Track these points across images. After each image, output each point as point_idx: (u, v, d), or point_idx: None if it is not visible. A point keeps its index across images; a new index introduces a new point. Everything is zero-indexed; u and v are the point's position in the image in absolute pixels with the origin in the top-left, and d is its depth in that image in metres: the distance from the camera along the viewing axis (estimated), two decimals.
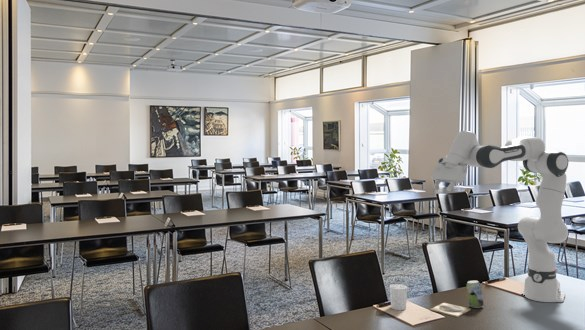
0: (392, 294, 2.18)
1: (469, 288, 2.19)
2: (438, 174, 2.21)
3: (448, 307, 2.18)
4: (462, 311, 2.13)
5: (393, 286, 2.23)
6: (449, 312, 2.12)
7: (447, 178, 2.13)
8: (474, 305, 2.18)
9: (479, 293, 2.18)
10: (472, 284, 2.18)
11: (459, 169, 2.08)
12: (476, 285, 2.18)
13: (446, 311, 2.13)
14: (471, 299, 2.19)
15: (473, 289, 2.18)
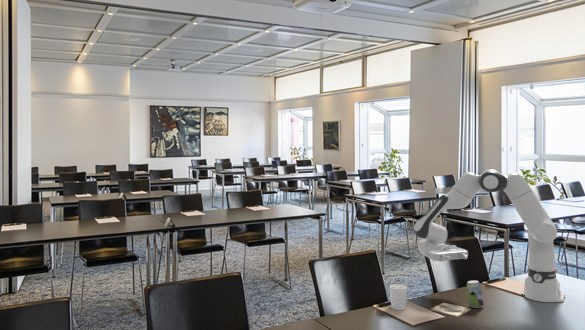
0: (392, 294, 2.18)
1: (469, 288, 2.19)
2: None
3: (448, 307, 2.18)
4: (462, 311, 2.13)
5: (393, 286, 2.23)
6: (449, 312, 2.12)
7: None
8: (474, 305, 2.18)
9: (479, 293, 2.18)
10: (472, 284, 2.18)
11: (430, 258, 2.38)
12: (476, 285, 2.18)
13: (446, 311, 2.13)
14: (471, 299, 2.19)
15: (473, 289, 2.18)
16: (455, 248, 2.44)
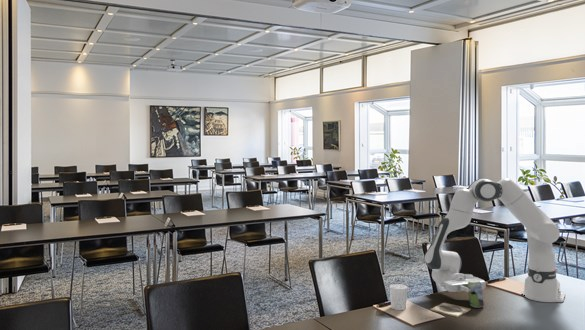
0: (392, 294, 2.18)
1: (470, 287, 2.19)
2: None
3: (448, 307, 2.18)
4: (462, 311, 2.13)
5: (393, 286, 2.23)
6: (449, 312, 2.12)
7: None
8: (474, 304, 2.18)
9: (480, 293, 2.18)
10: (473, 283, 2.19)
11: None
12: (477, 284, 2.18)
13: (446, 311, 2.13)
14: (471, 299, 2.19)
15: (474, 288, 2.18)
16: (472, 278, 2.32)
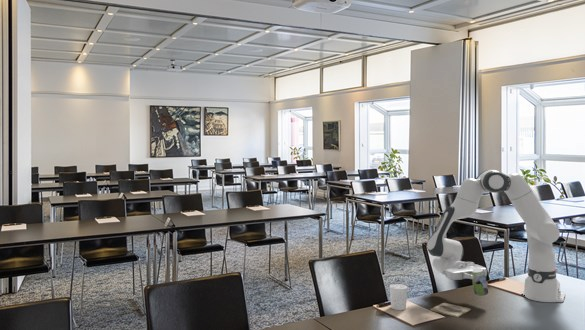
0: (392, 294, 2.18)
1: (475, 277, 2.19)
2: None
3: (448, 307, 2.18)
4: (462, 311, 2.13)
5: (393, 286, 2.23)
6: (449, 312, 2.12)
7: (464, 278, 2.23)
8: (480, 294, 2.19)
9: (484, 281, 2.19)
10: (478, 273, 2.19)
11: None
12: (481, 274, 2.18)
13: (446, 311, 2.13)
14: (476, 288, 2.20)
15: (479, 278, 2.18)
16: (473, 265, 2.32)
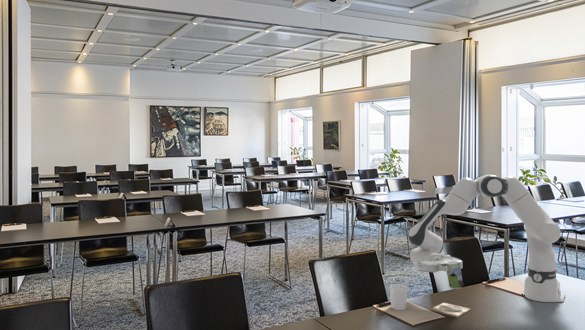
0: (392, 294, 2.18)
1: (449, 270, 2.15)
2: None
3: (448, 307, 2.18)
4: (462, 311, 2.13)
5: (393, 286, 2.23)
6: (449, 312, 2.12)
7: (438, 270, 2.19)
8: (454, 286, 2.15)
9: (459, 274, 2.15)
10: (452, 265, 2.14)
11: None
12: (456, 266, 2.14)
13: (446, 311, 2.13)
14: (451, 281, 2.15)
15: (453, 270, 2.14)
16: (449, 258, 2.27)
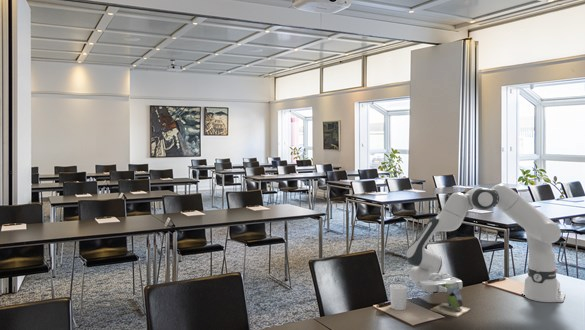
0: (392, 294, 2.18)
1: None
2: None
3: (448, 307, 2.18)
4: (462, 311, 2.13)
5: (393, 286, 2.23)
6: (449, 312, 2.12)
7: None
8: (454, 306, 2.15)
9: (458, 293, 2.15)
10: (451, 285, 2.15)
11: None
12: (455, 285, 2.15)
13: (446, 311, 2.13)
14: (450, 300, 2.16)
15: (452, 290, 2.15)
16: (449, 277, 2.28)
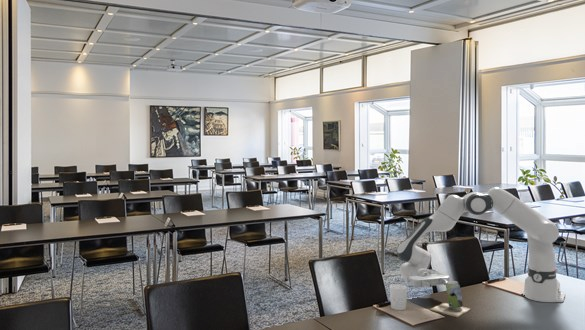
0: (392, 294, 2.18)
1: (449, 289, 2.16)
2: None
3: (448, 307, 2.18)
4: (462, 311, 2.13)
5: (393, 286, 2.23)
6: (449, 312, 2.12)
7: None
8: (454, 306, 2.15)
9: (459, 294, 2.15)
10: (452, 285, 2.15)
11: None
12: (456, 286, 2.15)
13: (446, 311, 2.13)
14: (451, 300, 2.16)
15: (453, 290, 2.15)
16: (437, 273, 2.36)
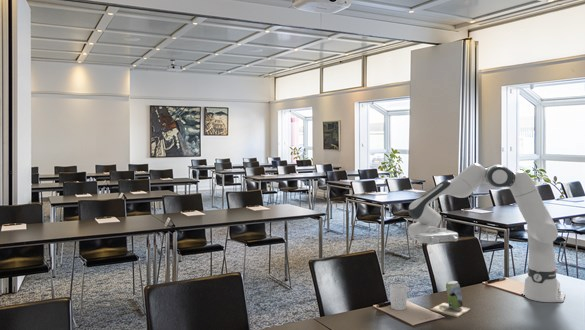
0: (392, 294, 2.18)
1: (449, 289, 2.16)
2: None
3: (448, 307, 2.18)
4: (462, 311, 2.13)
5: (393, 286, 2.23)
6: (449, 312, 2.12)
7: None
8: (454, 306, 2.15)
9: (459, 294, 2.15)
10: (452, 285, 2.15)
11: None
12: (456, 286, 2.15)
13: (446, 311, 2.13)
14: (451, 300, 2.16)
15: (453, 290, 2.15)
16: (445, 231, 2.38)
